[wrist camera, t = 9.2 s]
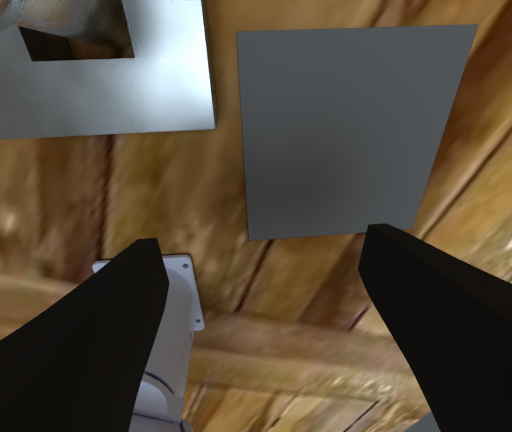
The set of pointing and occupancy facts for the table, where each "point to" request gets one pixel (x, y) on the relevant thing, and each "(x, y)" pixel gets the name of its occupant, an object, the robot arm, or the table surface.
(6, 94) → the square hole block
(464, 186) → the table surface
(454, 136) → the table surface
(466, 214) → the table surface
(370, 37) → the mat
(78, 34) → the pin
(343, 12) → the table surface
